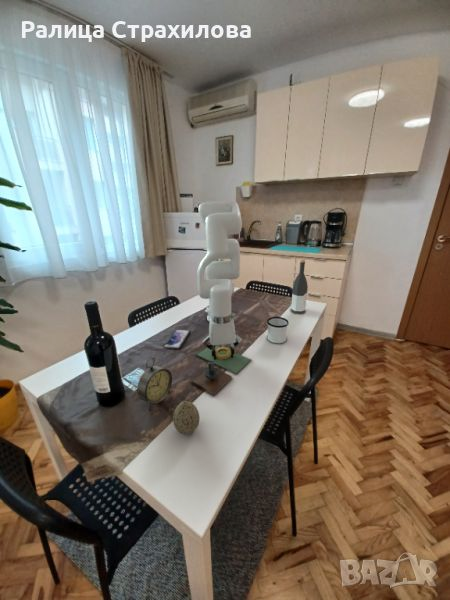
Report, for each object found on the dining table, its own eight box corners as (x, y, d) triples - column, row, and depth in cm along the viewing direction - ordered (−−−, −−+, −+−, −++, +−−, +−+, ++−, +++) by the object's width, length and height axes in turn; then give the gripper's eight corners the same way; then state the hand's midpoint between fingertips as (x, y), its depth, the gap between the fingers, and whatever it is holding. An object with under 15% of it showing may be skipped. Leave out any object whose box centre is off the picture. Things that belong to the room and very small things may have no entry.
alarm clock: (150, 415, 72) (141, 371, 66) (138, 407, 74) (128, 365, 68) (175, 391, 80) (169, 351, 74) (163, 386, 83) (157, 346, 77)
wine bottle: (293, 306, 142) (298, 256, 130) (307, 310, 137) (313, 258, 126) (288, 311, 136) (292, 259, 124) (302, 315, 131) (308, 261, 120)
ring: (211, 355, 96) (211, 352, 95) (221, 347, 100) (221, 345, 100) (224, 360, 92) (224, 358, 92) (234, 352, 97) (234, 350, 96)
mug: (285, 346, 104) (286, 327, 100) (264, 342, 107) (264, 324, 104) (289, 333, 114) (291, 316, 110) (270, 329, 117) (271, 313, 114)
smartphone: (163, 346, 104) (176, 329, 118) (164, 348, 105) (176, 331, 118) (179, 347, 103) (189, 330, 117) (179, 349, 103) (190, 331, 117)
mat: (196, 355, 99) (196, 354, 99) (212, 344, 106) (212, 343, 106) (236, 374, 88) (236, 372, 87) (250, 360, 95) (250, 359, 95)
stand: (192, 383, 84) (190, 364, 81) (210, 368, 91) (209, 350, 88) (214, 395, 78) (212, 376, 75) (231, 378, 85) (231, 360, 82)
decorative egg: (200, 417, 70) (197, 391, 67) (200, 439, 64) (198, 411, 60) (175, 420, 70) (171, 394, 66) (173, 442, 63) (169, 415, 59)
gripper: (242, 311, 94) (242, 349, 101) (198, 314, 92) (201, 353, 99) (246, 319, 88) (245, 359, 94) (199, 323, 86) (202, 364, 92)
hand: (223, 356), depth 97 cm, fingers closed on ring, 6 cm apart
